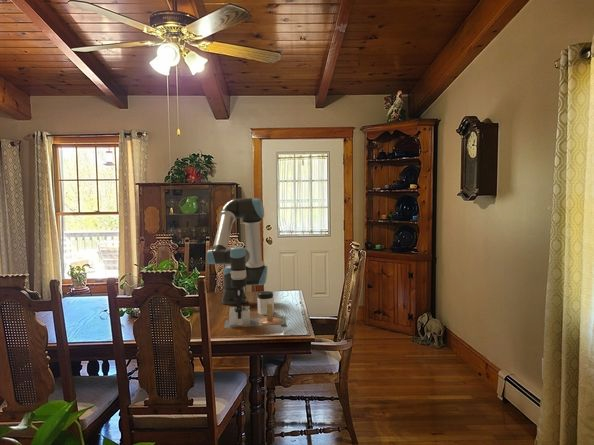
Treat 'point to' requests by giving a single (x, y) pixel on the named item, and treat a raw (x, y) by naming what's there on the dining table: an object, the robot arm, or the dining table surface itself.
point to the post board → (263, 320)
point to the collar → (244, 316)
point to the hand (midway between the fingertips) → (240, 321)
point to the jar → (264, 301)
